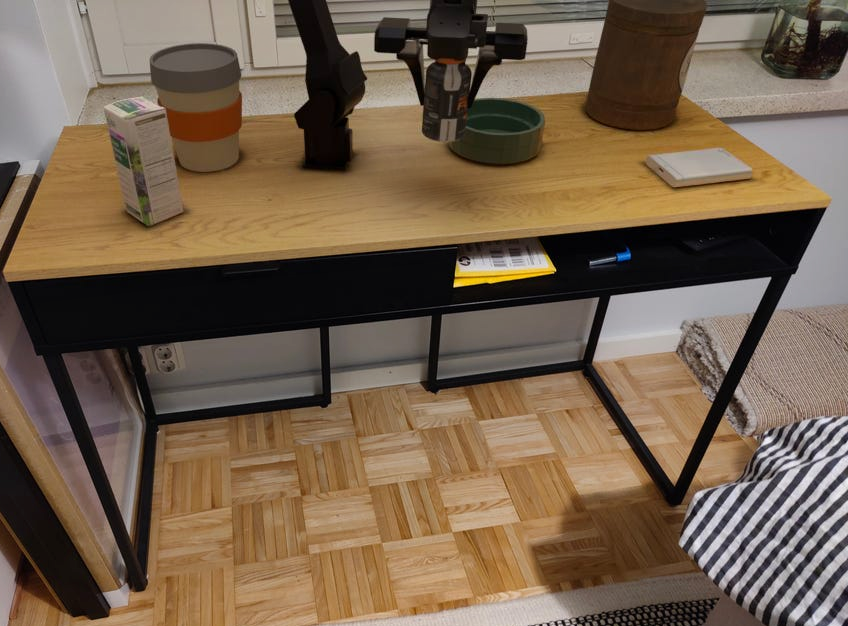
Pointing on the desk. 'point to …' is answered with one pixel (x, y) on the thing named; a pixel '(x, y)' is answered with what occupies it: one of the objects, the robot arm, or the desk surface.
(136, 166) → the syrup box
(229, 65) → the reusable coffee cup
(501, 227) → the desk surface
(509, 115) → the bowl
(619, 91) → the wooden container
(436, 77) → the pill bottle
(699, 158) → the hard drive
